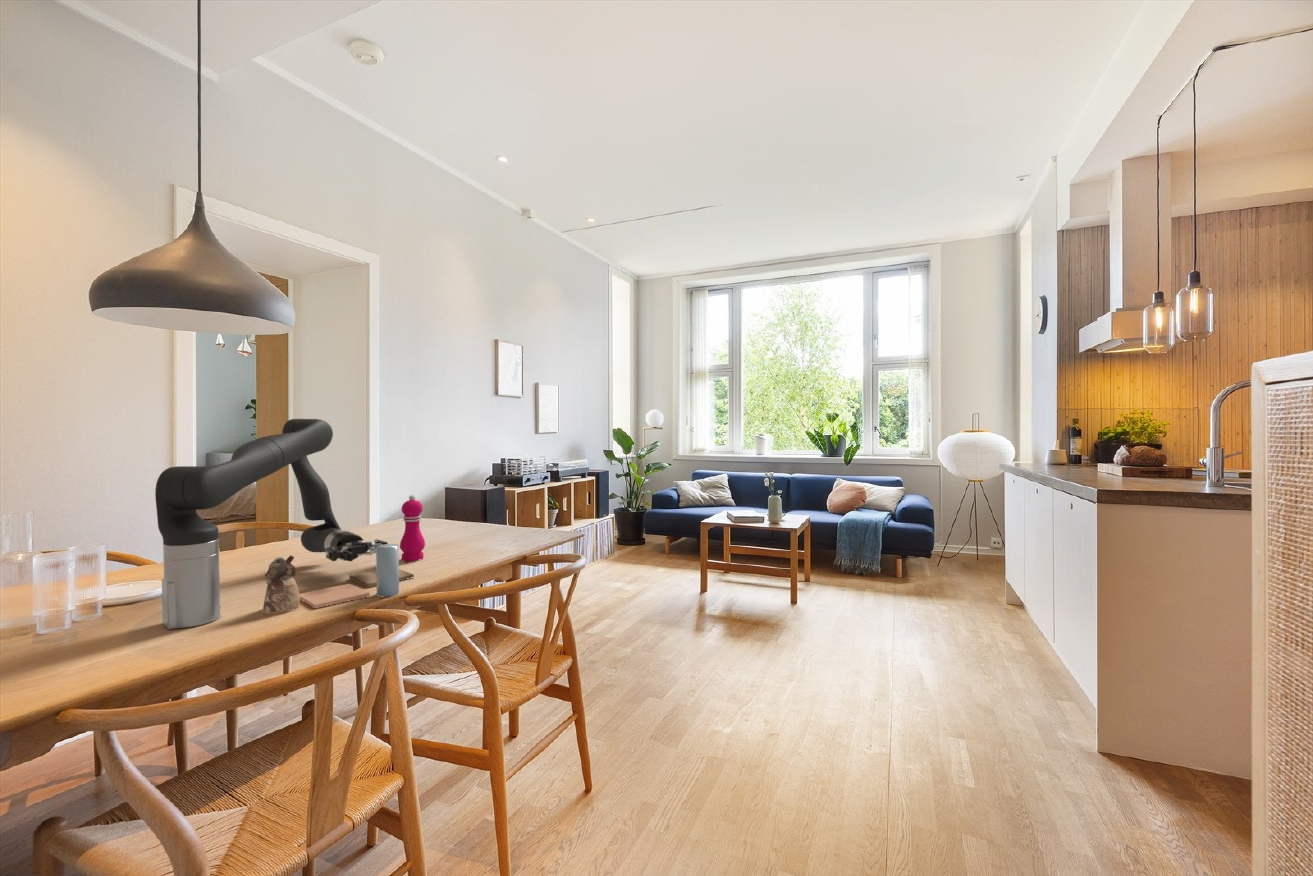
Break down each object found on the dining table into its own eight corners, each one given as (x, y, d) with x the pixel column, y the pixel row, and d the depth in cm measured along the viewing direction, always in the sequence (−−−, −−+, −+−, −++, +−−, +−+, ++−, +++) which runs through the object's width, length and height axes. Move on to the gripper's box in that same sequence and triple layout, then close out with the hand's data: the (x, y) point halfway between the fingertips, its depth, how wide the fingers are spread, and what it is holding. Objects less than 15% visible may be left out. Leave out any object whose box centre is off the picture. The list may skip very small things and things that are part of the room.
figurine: (260, 608, 131) (259, 556, 130) (296, 602, 135) (296, 551, 135) (264, 616, 125) (263, 562, 125) (302, 609, 130) (301, 557, 129)
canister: (382, 598, 138) (381, 549, 138) (373, 594, 141) (372, 546, 141) (402, 593, 142) (402, 546, 141) (393, 589, 145) (392, 543, 145)
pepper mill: (404, 556, 180) (403, 493, 180) (428, 556, 181) (427, 493, 180) (396, 562, 173) (395, 496, 172) (421, 561, 174) (420, 496, 173)
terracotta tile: (315, 609, 130) (315, 604, 130) (297, 598, 138) (297, 594, 138) (369, 596, 139) (369, 592, 139) (349, 587, 147) (349, 583, 147)
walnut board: (368, 587, 147) (368, 584, 147) (349, 579, 154) (349, 575, 154) (413, 578, 156) (413, 574, 156) (393, 570, 164) (393, 567, 164)
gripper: (315, 535, 154) (339, 544, 143) (369, 527, 165) (395, 535, 154) (316, 563, 154) (339, 574, 144) (370, 553, 165) (396, 563, 154)
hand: (368, 554), depth 149 cm, fingers open, 8 cm apart
